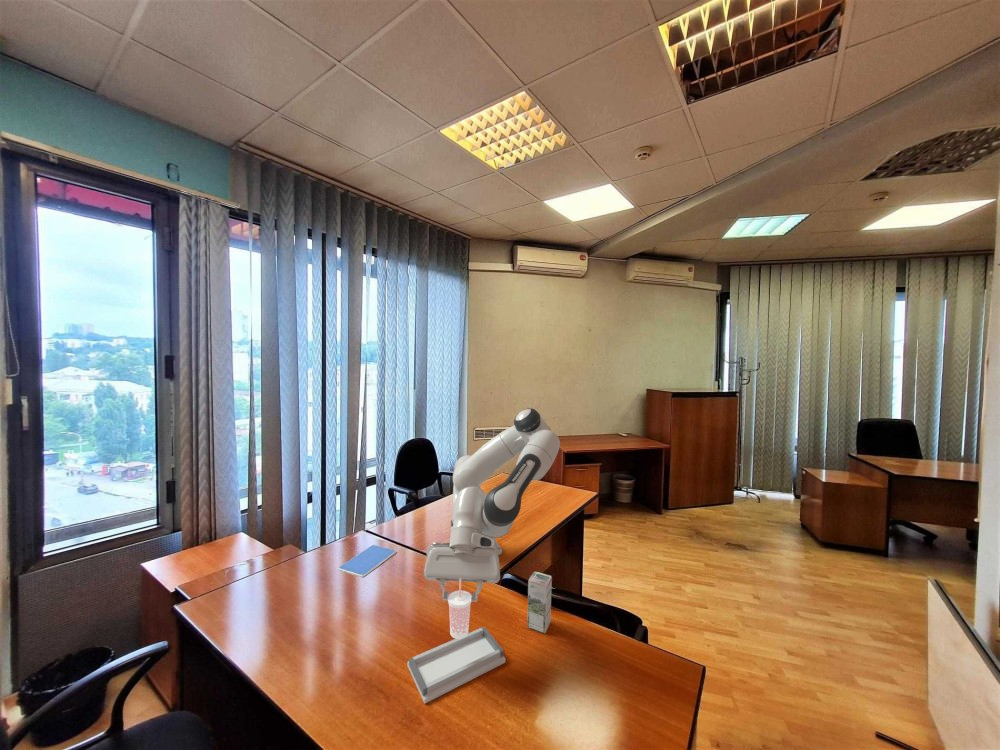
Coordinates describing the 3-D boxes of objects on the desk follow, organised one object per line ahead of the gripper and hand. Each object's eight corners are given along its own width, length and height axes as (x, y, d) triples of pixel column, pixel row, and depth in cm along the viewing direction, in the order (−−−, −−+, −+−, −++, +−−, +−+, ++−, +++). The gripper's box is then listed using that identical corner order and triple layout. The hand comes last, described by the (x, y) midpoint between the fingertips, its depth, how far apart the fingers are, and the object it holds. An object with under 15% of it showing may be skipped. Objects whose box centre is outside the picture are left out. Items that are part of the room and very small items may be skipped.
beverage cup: (474, 636, 90) (475, 581, 90) (451, 644, 87) (452, 587, 87) (466, 621, 96) (467, 569, 95) (444, 627, 93) (445, 574, 93)
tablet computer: (362, 579, 128) (363, 575, 128) (336, 571, 132) (336, 567, 132) (397, 553, 146) (397, 550, 146) (372, 547, 150) (372, 544, 150)
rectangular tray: (482, 632, 103) (482, 624, 103) (505, 662, 93) (505, 652, 93) (407, 665, 91) (407, 656, 91) (424, 703, 81) (424, 693, 81)
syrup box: (551, 622, 108) (552, 574, 108) (545, 635, 103) (546, 585, 102) (533, 616, 110) (534, 569, 110) (526, 628, 105) (527, 579, 105)
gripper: (426, 538, 98) (416, 596, 89) (501, 541, 98) (499, 599, 88) (430, 546, 103) (421, 601, 93) (501, 548, 102) (499, 605, 93)
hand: (459, 600), depth 91 cm, fingers closed on beverage cup, 6 cm apart
